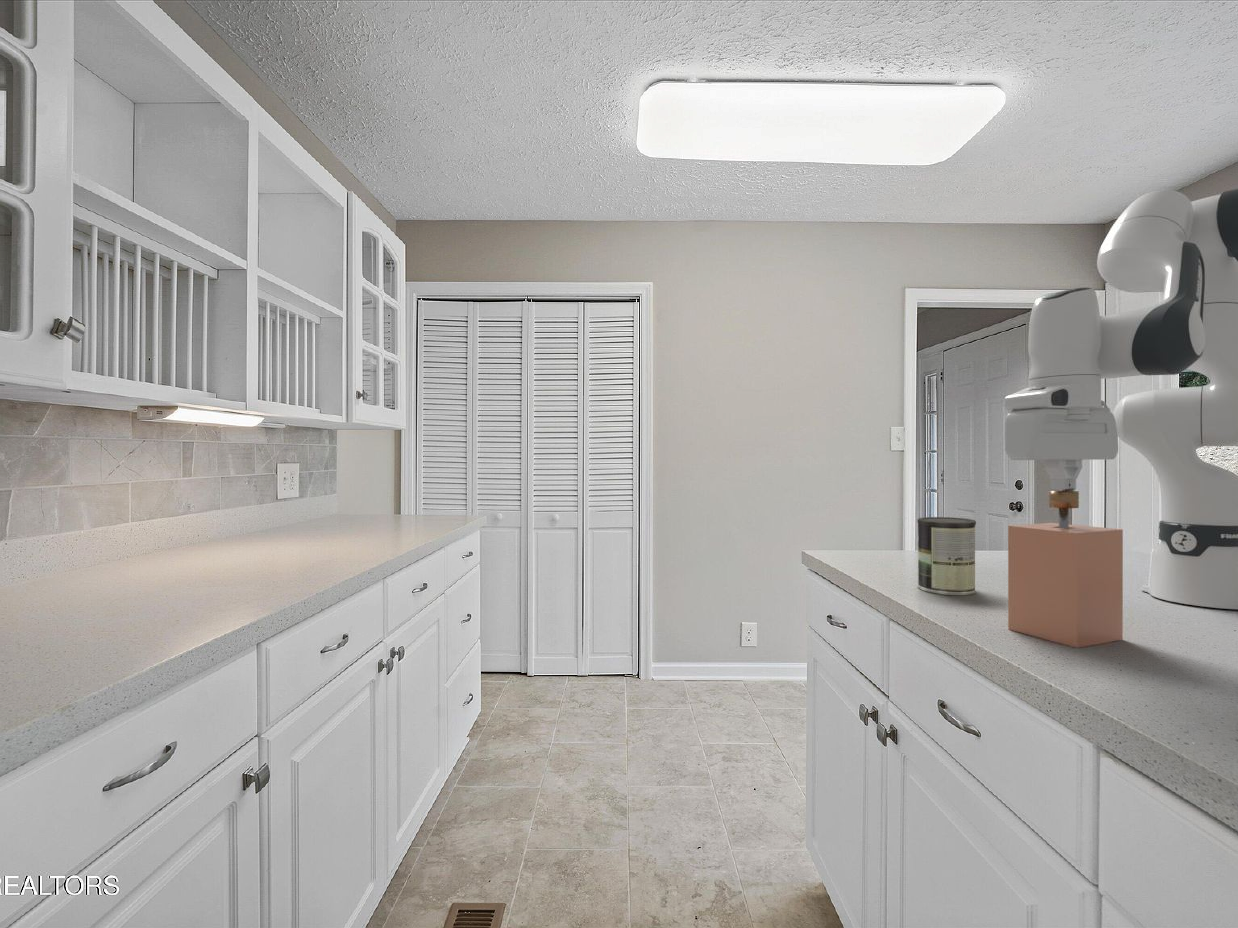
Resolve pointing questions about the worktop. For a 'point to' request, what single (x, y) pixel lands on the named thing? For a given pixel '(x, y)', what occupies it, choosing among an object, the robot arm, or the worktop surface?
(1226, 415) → the robot arm
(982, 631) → the worktop surface
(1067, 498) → the plunger
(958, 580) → the coffee can
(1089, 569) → the block
